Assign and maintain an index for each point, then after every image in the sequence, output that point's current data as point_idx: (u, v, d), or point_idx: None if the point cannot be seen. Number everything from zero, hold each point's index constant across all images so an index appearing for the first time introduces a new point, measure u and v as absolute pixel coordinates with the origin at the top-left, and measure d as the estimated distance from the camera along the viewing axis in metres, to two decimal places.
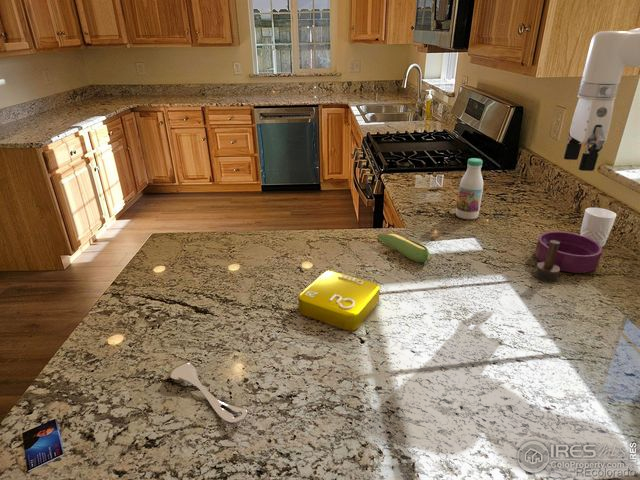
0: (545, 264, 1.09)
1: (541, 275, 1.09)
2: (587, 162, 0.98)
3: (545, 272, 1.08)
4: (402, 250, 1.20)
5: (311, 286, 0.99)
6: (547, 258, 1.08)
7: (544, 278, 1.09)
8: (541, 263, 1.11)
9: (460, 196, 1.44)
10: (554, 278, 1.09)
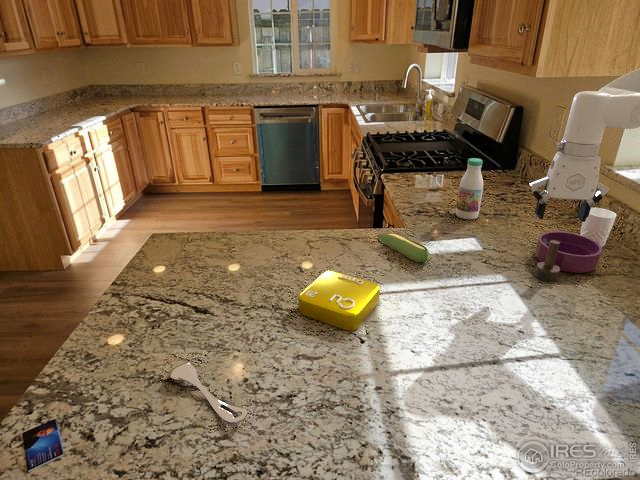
0: (545, 264, 1.09)
1: (541, 275, 1.09)
2: (536, 207, 1.04)
3: (545, 272, 1.08)
4: (402, 250, 1.20)
5: (311, 286, 0.99)
6: (547, 258, 1.08)
7: (544, 278, 1.09)
8: (541, 263, 1.11)
9: (460, 196, 1.44)
10: (554, 278, 1.09)
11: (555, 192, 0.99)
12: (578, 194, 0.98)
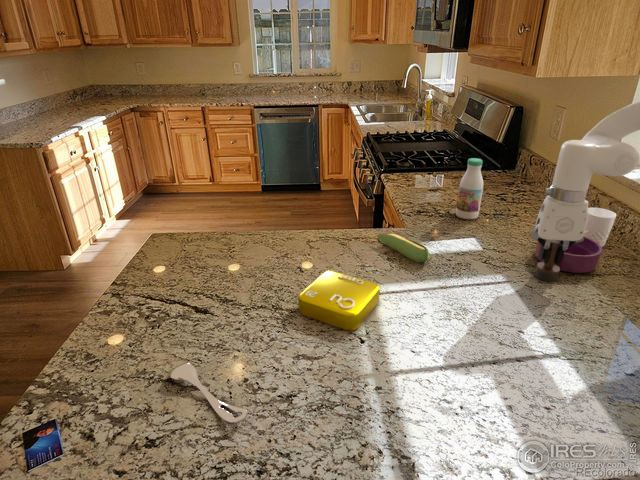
0: (545, 264, 1.09)
1: (541, 275, 1.09)
2: None
3: (545, 272, 1.08)
4: (402, 250, 1.20)
5: (311, 286, 0.99)
6: None
7: (544, 278, 1.09)
8: (541, 263, 1.11)
9: (460, 196, 1.44)
10: (554, 278, 1.09)
11: (545, 234, 1.03)
12: (568, 236, 1.03)
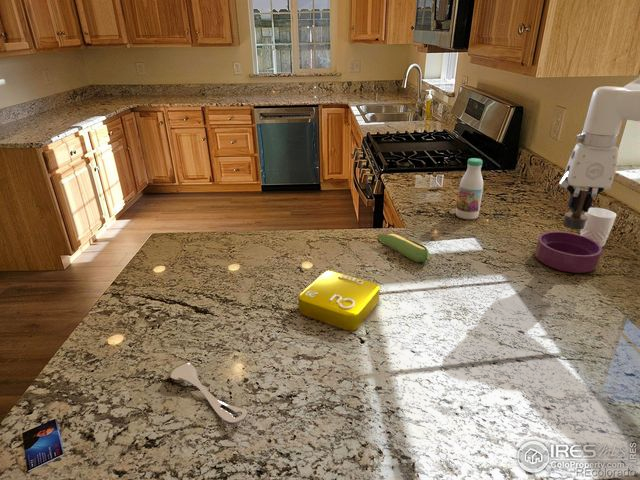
0: (573, 213, 1.12)
1: (569, 223, 1.12)
2: (569, 201, 1.12)
3: (573, 220, 1.11)
4: (402, 250, 1.20)
5: (311, 286, 0.99)
6: None
7: (573, 226, 1.12)
8: (569, 213, 1.14)
9: (460, 196, 1.44)
10: (582, 226, 1.12)
11: (575, 180, 1.06)
12: (597, 182, 1.06)
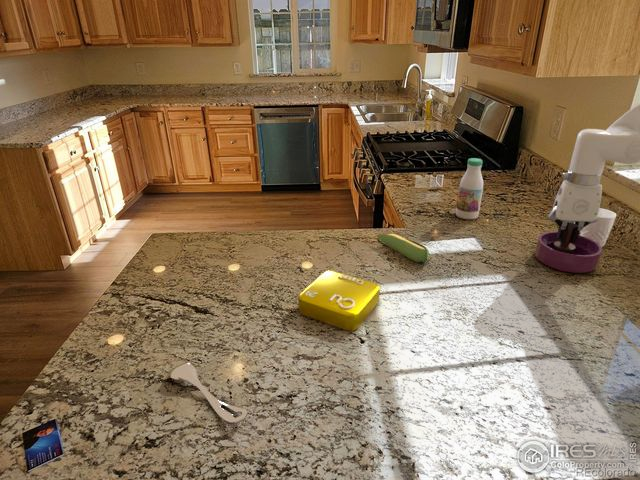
0: (562, 243, 1.19)
1: None
2: (557, 233, 1.19)
3: (562, 250, 1.18)
4: (402, 250, 1.20)
5: (311, 286, 0.99)
6: None
7: None
8: (557, 242, 1.21)
9: (460, 196, 1.44)
10: None
11: (563, 215, 1.13)
12: (583, 216, 1.12)
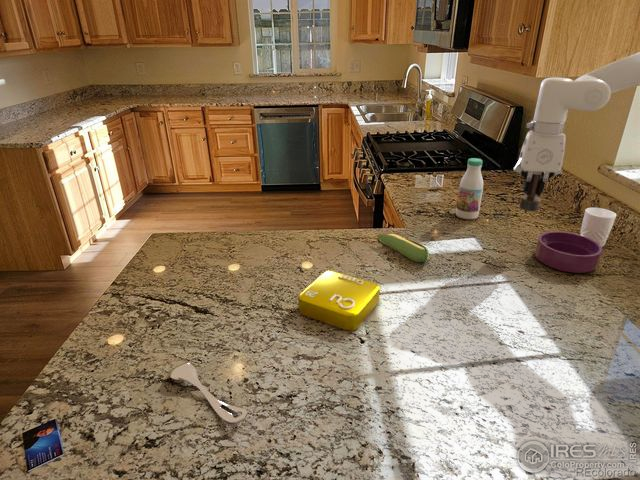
0: (528, 195, 1.20)
1: (524, 205, 1.20)
2: None
3: (528, 202, 1.19)
4: (402, 250, 1.20)
5: (311, 286, 0.99)
6: None
7: (527, 207, 1.20)
8: (524, 195, 1.22)
9: (460, 196, 1.44)
10: (536, 207, 1.19)
11: (527, 166, 1.14)
12: (547, 167, 1.13)
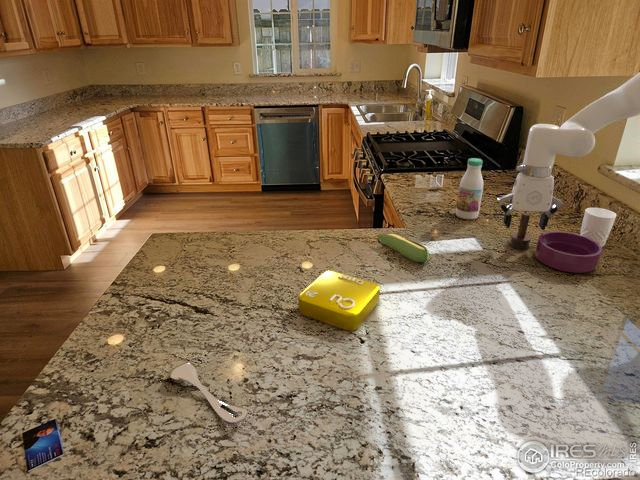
0: (518, 234, 1.26)
1: (514, 244, 1.26)
2: (504, 218, 1.25)
3: (518, 241, 1.25)
4: (402, 250, 1.20)
5: (311, 286, 0.99)
6: (519, 228, 1.25)
7: (517, 246, 1.25)
8: (515, 234, 1.28)
9: (460, 196, 1.44)
10: (526, 246, 1.25)
11: (518, 206, 1.20)
12: (537, 207, 1.19)
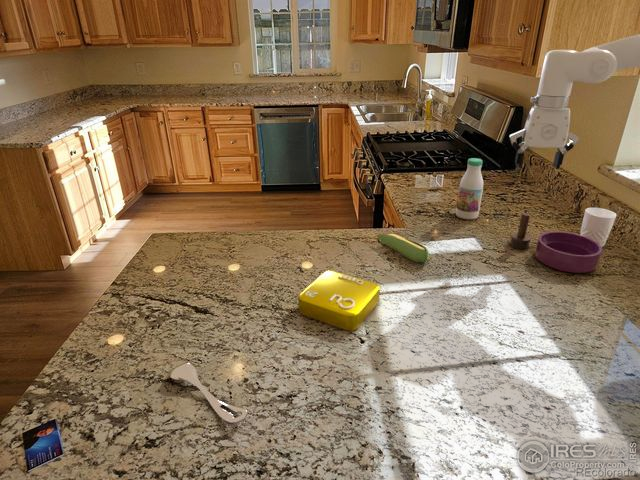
0: (518, 234, 1.26)
1: (514, 244, 1.26)
2: (515, 158, 1.17)
3: (518, 241, 1.25)
4: (402, 250, 1.20)
5: (311, 286, 0.99)
6: (519, 228, 1.25)
7: (517, 246, 1.25)
8: (515, 234, 1.28)
9: (460, 196, 1.44)
10: (526, 246, 1.25)
11: (531, 141, 1.12)
12: (552, 142, 1.11)
